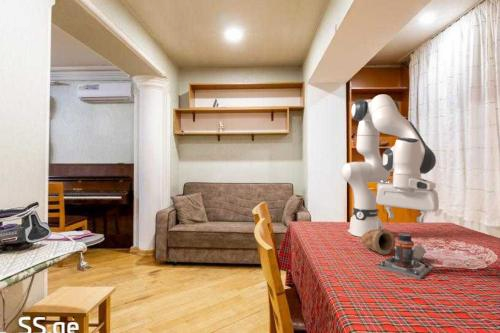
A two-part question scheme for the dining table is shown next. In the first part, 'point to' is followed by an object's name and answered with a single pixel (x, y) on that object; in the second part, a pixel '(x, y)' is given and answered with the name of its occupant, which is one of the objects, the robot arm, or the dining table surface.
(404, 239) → the supplement bottle
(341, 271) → the dining table surface
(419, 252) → the flange seat
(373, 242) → the clay pipe
